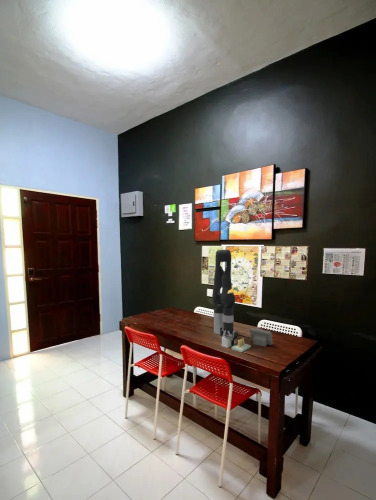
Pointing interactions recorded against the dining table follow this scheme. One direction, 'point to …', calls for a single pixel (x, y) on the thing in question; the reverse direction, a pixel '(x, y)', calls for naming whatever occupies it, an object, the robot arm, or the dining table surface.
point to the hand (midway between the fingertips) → (228, 343)
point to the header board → (241, 346)
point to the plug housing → (227, 341)
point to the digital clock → (261, 337)
